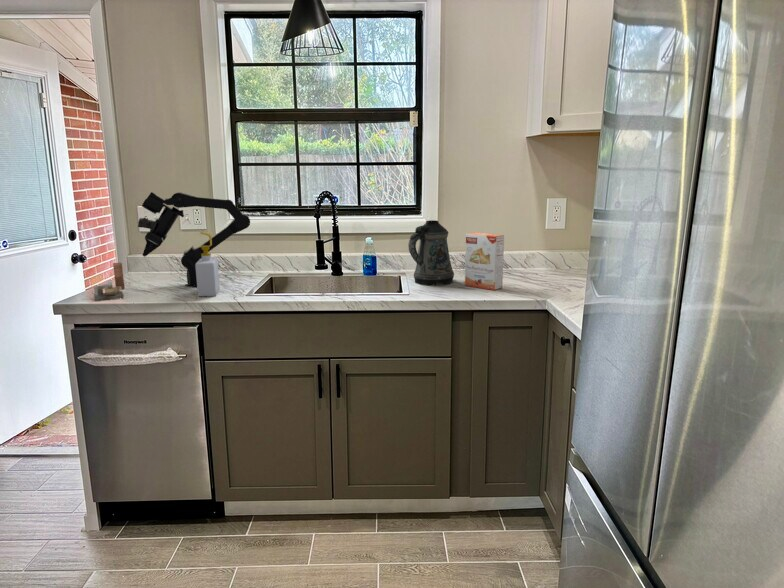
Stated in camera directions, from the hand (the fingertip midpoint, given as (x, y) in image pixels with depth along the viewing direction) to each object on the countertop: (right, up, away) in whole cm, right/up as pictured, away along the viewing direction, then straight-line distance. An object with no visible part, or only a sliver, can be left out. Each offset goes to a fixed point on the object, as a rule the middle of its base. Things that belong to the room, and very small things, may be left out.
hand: (145, 254), depth 224 cm
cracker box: (+133, -13, -1) cm, 133 cm away
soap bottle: (+27, -16, -7) cm, 32 cm away
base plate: (-8, -17, -12) cm, 22 cm away
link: (-7, -15, -10) cm, 19 cm away
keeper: (-10, -16, -12) cm, 22 cm away
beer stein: (+113, -11, +9) cm, 114 cm away
